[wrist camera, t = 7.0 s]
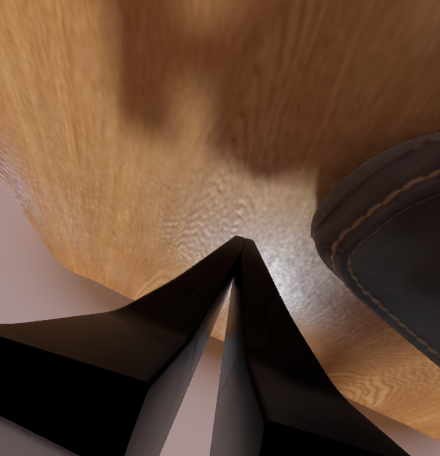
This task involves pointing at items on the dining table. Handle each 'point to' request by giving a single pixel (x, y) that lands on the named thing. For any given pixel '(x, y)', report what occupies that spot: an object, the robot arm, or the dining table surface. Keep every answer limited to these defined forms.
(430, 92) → the dining table surface
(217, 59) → the dining table surface
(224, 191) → the dining table surface
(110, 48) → the dining table surface
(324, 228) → the boat shoe
